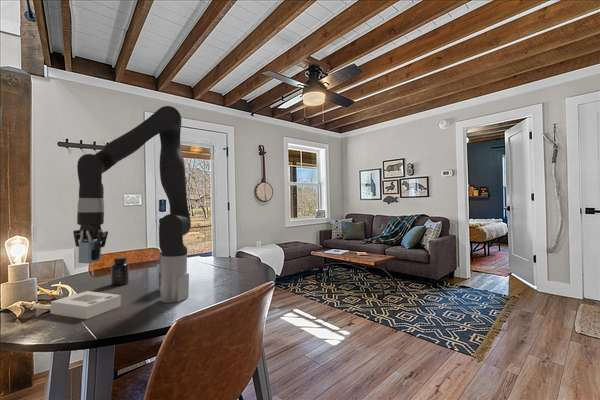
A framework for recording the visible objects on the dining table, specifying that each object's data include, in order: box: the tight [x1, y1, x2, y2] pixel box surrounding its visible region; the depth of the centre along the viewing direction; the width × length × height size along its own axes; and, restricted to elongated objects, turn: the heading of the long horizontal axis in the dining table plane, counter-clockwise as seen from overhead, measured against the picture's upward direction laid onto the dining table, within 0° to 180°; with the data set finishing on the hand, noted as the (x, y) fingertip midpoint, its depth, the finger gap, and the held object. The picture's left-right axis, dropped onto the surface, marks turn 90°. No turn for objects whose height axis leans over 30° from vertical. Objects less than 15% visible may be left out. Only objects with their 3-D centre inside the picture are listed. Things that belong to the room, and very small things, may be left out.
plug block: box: [77, 240, 102, 264], centre depth 97 cm, size 4×4×9 cm
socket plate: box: [50, 290, 122, 320], centre depth 95 cm, size 16×12×4 cm
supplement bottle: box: [110, 256, 130, 287], centre depth 127 cm, size 7×7×12 cm
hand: (89, 259), depth 97 cm, fingers closed on plug block, 4 cm apart
